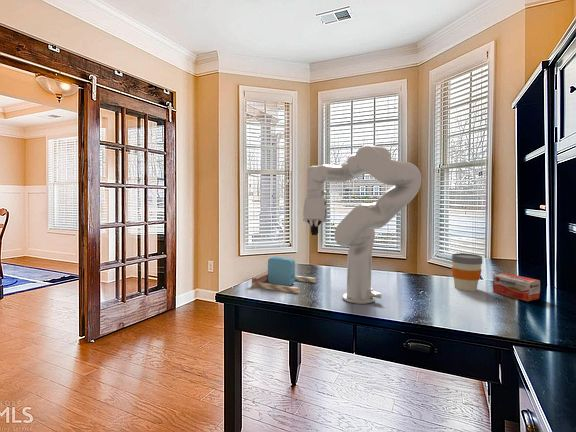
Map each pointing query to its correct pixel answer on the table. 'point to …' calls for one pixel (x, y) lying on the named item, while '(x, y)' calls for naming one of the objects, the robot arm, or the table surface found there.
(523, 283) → the medicine box
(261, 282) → the guide channel
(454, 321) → the table surface
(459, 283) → the reusable coffee cup
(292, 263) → the light blue square slab
